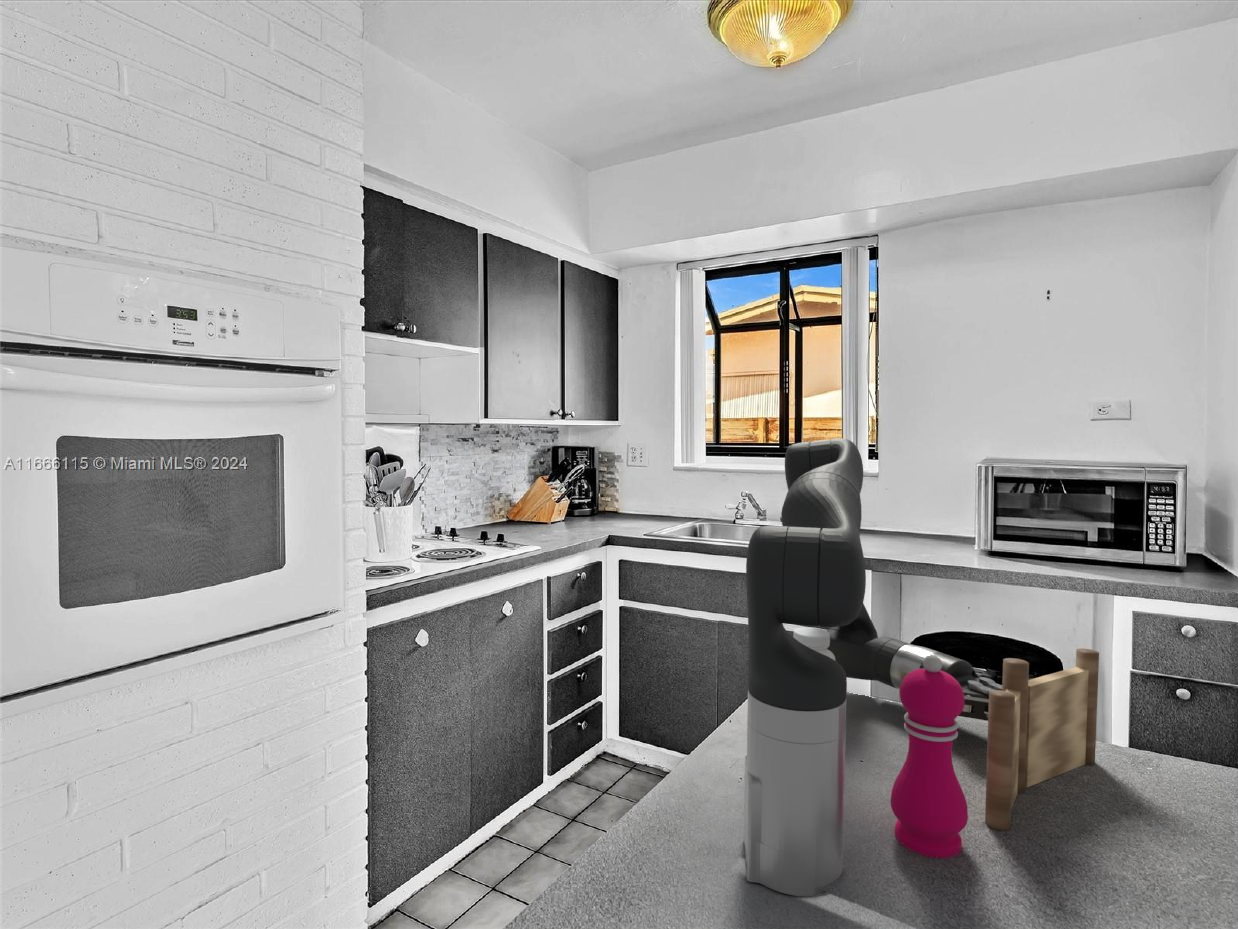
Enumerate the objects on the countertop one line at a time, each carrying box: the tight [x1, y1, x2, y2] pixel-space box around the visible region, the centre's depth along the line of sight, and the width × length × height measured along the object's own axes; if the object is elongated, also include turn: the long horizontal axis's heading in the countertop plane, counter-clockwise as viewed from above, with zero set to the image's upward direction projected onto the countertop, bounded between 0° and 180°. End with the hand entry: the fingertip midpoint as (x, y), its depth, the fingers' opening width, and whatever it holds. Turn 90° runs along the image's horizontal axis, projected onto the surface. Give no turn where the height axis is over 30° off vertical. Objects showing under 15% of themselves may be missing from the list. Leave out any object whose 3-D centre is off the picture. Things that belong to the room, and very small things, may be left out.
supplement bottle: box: [792, 626, 835, 660], centre depth 106 cm, size 7×7×13 cm
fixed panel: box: [984, 657, 1030, 832], centre depth 79 cm, size 12×3×15 cm, turn 143°
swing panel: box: [1025, 648, 1100, 788], centre depth 87 cm, size 14×2×14 cm, turn 119°
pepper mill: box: [890, 655, 969, 859], centre depth 72 cm, size 7×7×20 cm
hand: (1052, 722), depth 88 cm, fingers closed
